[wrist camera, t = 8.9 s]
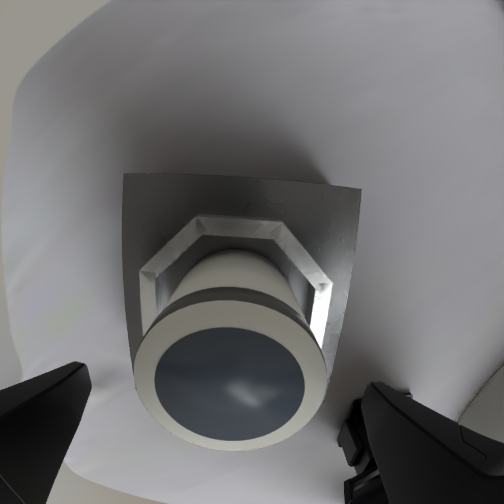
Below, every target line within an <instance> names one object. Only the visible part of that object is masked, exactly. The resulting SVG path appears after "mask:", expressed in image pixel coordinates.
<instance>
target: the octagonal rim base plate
mask: <svg viewBox="0 0 504 504" xmlns="http://www.w3.org/2000/svg"><path fill="white" fill-rule="evenodd" d="M361 191H362V189H356V188H349V187H341V186H334V185H325V184H317V183H308V182H298V181H288V180H277V179H265V178H251V177H236V176H218V175H194V174H124V180H123V205H122V256H123V281H124V297H125V309H126V320H127V330H128V339H129V347H130V355H131V362H132V368H133V375H134V362H135V356H136V352H137V349H138V346H139V344H140V342H141V340H142V338H143V337H144V335H145V333H146V332H147V330H148V329H149V327H150V326H151V324H152V323H153V321H154V320H155V318H156V317H157V316H158V315H159V314H160V313H161V311H162V310H163V308H164V307H165V305H166V304H167V302H168V301H169V299H170V298H171V296H172V295H173V293H174V291H175V290H176V288H177V287H178V285H179V284H180V282H181V281H182V279H183V278H184V276H185V275H186V274H187V272H188V271H189V269H190V268H191V267H192V266H193V265H194V264H195V263H197V262H198V261H199V260H201V259H202V258H204V257H206V256H207V255H210V254H212V253H215V252H219V251H222V250H230V249H239V250H246V251H250V252H254V253H256V254H259V255H261V256H263V257H265V258H267V259H268V260H270V261H271V262H272V263H274V264H275V265H276V266H277V267H278V268H279V269H280V270H281V272H282V273H283V274H284V275H285V277H286V279H287V281H288V283H289V285H290V287H291V289H292V291H293V293H294V296H295V298H296V300H297V302H298V304H299V306H300V309H301V311H302V313H303V315H304V317H305V319H306V322H307V324H308V325H309V326H310V328H311V330H312V332H313V334H314V335H315V337H316V340H317V342H318V344H319V346H320V348H321V350H322V353H323V356H324V359H325V363H326V369H327V385H326V391H325V395H324V398H323V401H322V402H324V400H325V397H326V393H327V389H328V385H329V381H330V378H331V374H332V370H333V365H334V361H335V357H336V353H337V348H338V344H339V339H340V334H341V330H342V325H343V320H344V315H345V309H346V304H347V298H348V293H349V287H350V281H351V274H352V268H353V261H354V254H355V247H356V239H357V231H358V222H359V212H360V202H361ZM135 387H136V386H135Z"/></svg>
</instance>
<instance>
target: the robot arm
mask: <svg viewBox="0 0 504 504" xmlns="http://www.w3.org/2000/svg"><path fill="white" fill-rule="evenodd" d="M91 388H92V384H91V380H90V376H89V372H88V368H87V366H86V364H84V363H81V362H76V361H74V362H72V363H69V364H67V365H64V366H62V367H59V368H57V369H54V370H52V371H49V372H47V373H44V374H42V375H39V376H36V377H34V378H31V379H29V380H26V381H24V382H21V383H18V384H16V385H13V386H11V387H8V388H5V389H2V390H0V504H46V502H47V499H48V496H49V494H50V491H51V489H52V486H53V484H54V481H55V479H56V476H57V474H58V471H59V469H60V467H61V464H62V462H63V460H64V457H65V455H66V453H67V450H68V448H69V446H70V444H71V441H72V439H73V437H74V435H75V433H76V431H77V428H78V426H79V424H80V421H81V418H82V415H83V412H84V409H85V406H86V403H87V400H88V397H89V395H90V392H91ZM412 398H413V395H412V394H411V393H409V392H408V393H400V392H399V391H397V390H395V389H393V388H392V387H390V386H388V385H386V384H384V383H383V382H380V381H378V382H370V383H369V384H368V385H367V387H366V390H365V393H364V396H363V399H357V400H355V401H354V402H353V403H352V405H351V408H350V411H349V414H348V417H347V419H346V420H345V421H344V424H343V427H342V429H341V432H340V435H339V440H338V446H339V447H342V448H343V451H344V454H345V457H346V460H347V463H348V465H349V466H350V467H352V466H354V468H355V470H356V473H357V476H355V477H353V478H351V479H348V480H346V481H344V497H345V504H504V443H502V442H500V441H497V440H494V439H492V438H489V437H486V436H484V435H482V434H479V433H477V432H475V431H473V430H471V429H468V428H467V427H465V426H463V425H459V423H457V422H455V421H453V420H451V419H449V418H447V417H445V416H443V415H441V414H439V413H437V412H435V411H434V410H432V409H430V408H428V407H426V406H424V405H422V404H421V403H419V402H417V401H415V400H413V399H412ZM357 404H358V405H357Z"/></svg>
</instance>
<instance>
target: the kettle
mask: <svg viewBox="0 0 504 504" xmlns="http://www.w3.org/2000/svg"><path fill="white" fill-rule="evenodd" d="M457 423H459V425H463V426H465V427H467V428H468V429H471V430H473V431H475V432H477V433H479V434H482V435H484V436H486V437H489V438H492V439H494V440H497V441H500V442H502V443H504V365H503V366H502V367H501V368H500V369H499V370H498V371H497V372H496V373H495V374H494V376H493V377H492V378H491V379H490V380H489V381H488V382H487V384H486V385H485V386H484V387H483V388H482V390H481V391H480V392H479V393H478V395H477V396H476V397H475V398H474V400H473V401H472V402H471V404H470V405H469V406H468V408H467V409H466V410H465V412H464V413H463V415H462V416H461V418H460V419H459V421H458V422H457Z"/></svg>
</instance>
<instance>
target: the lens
mask: <svg viewBox="0 0 504 504" xmlns="http://www.w3.org/2000/svg"><path fill="white" fill-rule="evenodd" d="M134 382H135V386H136V390H137V393H138V395H139V397H140V400H141V401H142V403H143V405H144V407H145V408H146V410H147V411H148V412H149V413H150V415H151V416H152V417H153V418H154V419H155V420H156V421H157V422H158V423H159V424H160V425H161V426H163V427H164V428H165V429H166V430H168V431H169V432H171V433H172V434H174V435H175V436H177V437H179V438H181V439H183V440H185V441H187V442H190V443H192V444H195V445H198V446H202V447H205V448H210V449H215V450H223V451H245V450H253V449H259V448H263V447H267V446H270V445H273V444H275V443H278V442H280V441H282V440H284V439H286V438H288V437H290V436H292V435H293V434H295V433H296V432H298V431H299V430H300V429H301V428H303V427H304V426H305V425H306V424H307V423H308V422H309V421H310V420H311V419H312V417H313V416H314V415H315V413H316V412H317V411H318V409H319V407H320V405H321V403H322V401H323V398H324V395H325V391H326V385H327V369H326V363H325V359H324V356H323V353H322V350H321V348H320V346H319V344H318V342H317V340H316V337H315V335H314V334H313V332H312V330H311V328H310V326H309V325H308V324H307V322H306V319H305V317H304V315H303V313H302V311H301V309H300V306H299V304H298V302H297V300H296V298H295V296H294V293H293V291H292V289H291V287H290V285H289V283H288V281H287V279H286V277H285V275H284V274H283V273H282V272H281V270H280V269H279V268H278V267H277V266H276V265H275V264H274V263H272V262H271V261H270V260H268V259H267V258H265V257H263V256H261V255H259V254H256V253H254V252H250V251H246V250H239V249H230V250H222V251H219V252H215V253H212V254H210V255H207V256H206V257H204V258H202V259H201V260H199V261H198V262H197V263H195V264H194V265H193V266H192V267H191V268H190V269H189V271H188V272H187V274H186V275H185V276H184V278H183V279H182V281H181V282H180V284H179V285H178V287H177V288H176V290H175V291H174V293H173V295H172V296H171V298H170V299H169V301H168V302H167V304H166V305H165V307H164V308H163V310H162V311H161V313H160V314H159V315H158V316H157V317H156V318H155V320H154V321H153V323H152V324H151V326H150V327H149V329H148V330H147V332H146V333H145V335H144V337H143V338H142V340H141V342H140V344H139V346H138V349H137V352H136V356H135V362H134Z"/></svg>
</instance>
